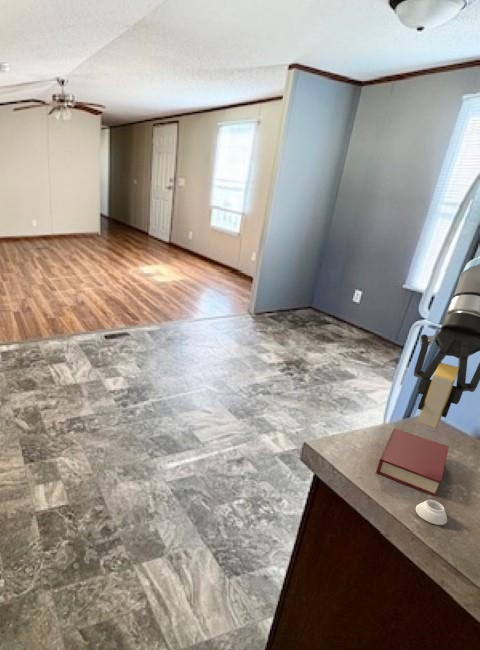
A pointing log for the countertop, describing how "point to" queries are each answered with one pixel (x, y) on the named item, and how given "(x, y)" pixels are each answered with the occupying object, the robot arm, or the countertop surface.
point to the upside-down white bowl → (432, 512)
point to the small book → (438, 395)
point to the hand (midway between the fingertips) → (432, 411)
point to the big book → (413, 461)
